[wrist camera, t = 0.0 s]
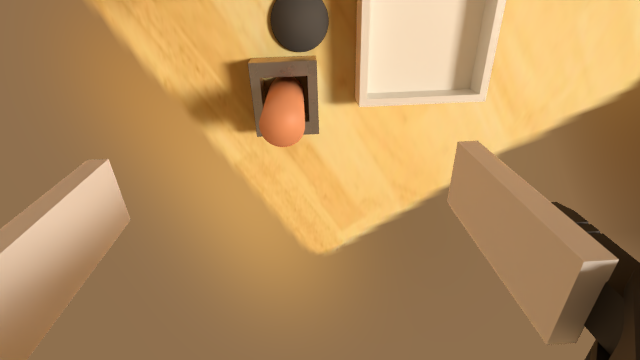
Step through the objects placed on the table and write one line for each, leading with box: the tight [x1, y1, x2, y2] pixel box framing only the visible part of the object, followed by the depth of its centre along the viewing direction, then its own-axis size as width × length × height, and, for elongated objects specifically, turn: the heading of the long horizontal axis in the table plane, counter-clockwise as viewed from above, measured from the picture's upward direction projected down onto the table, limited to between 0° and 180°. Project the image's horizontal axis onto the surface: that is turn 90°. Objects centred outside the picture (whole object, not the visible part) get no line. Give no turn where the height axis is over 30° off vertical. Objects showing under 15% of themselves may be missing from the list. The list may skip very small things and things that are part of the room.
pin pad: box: [271, 0, 329, 52], centre depth 36 cm, size 6×6×1 cm
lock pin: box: [259, 76, 305, 147], centre depth 35 cm, size 4×4×11 cm
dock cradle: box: [355, 0, 506, 107], centre depth 36 cm, size 14×14×3 cm
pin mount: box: [248, 56, 319, 137], centre depth 38 cm, size 8×7×3 cm
